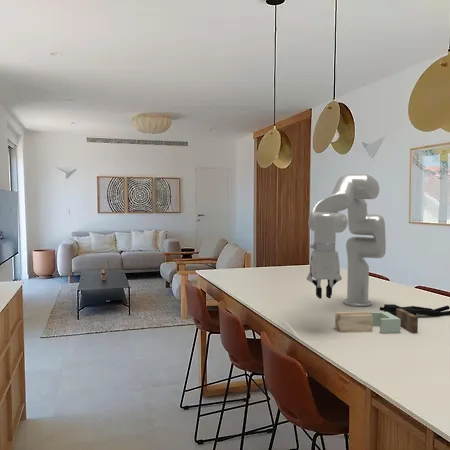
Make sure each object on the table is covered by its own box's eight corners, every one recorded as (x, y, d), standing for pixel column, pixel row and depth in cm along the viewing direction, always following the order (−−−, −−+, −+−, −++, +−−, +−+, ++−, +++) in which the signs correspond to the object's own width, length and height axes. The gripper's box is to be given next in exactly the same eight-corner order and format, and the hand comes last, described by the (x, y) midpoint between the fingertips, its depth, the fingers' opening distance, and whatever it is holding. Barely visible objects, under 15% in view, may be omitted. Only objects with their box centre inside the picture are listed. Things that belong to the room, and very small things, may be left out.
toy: (443, 314, 187) (379, 314, 182) (443, 303, 187) (380, 303, 182) (457, 320, 178) (391, 320, 173) (458, 308, 177) (391, 308, 173)
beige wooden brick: (335, 327, 159) (335, 312, 159) (366, 327, 160) (366, 311, 160) (340, 332, 154) (340, 316, 153) (372, 331, 155) (372, 315, 154)
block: (369, 324, 163) (369, 312, 163) (386, 324, 163) (386, 311, 163) (381, 333, 152) (381, 319, 152) (400, 332, 153) (400, 319, 153)
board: (324, 323, 168) (324, 306, 168) (394, 321, 171) (395, 304, 170) (343, 339, 148) (343, 320, 148) (422, 337, 151) (422, 318, 151)
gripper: (305, 248, 150) (304, 300, 151) (350, 248, 151) (349, 299, 152) (299, 246, 157) (299, 295, 158) (342, 246, 159) (341, 295, 160)
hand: (323, 297), depth 155 cm, fingers open, 2 cm apart
